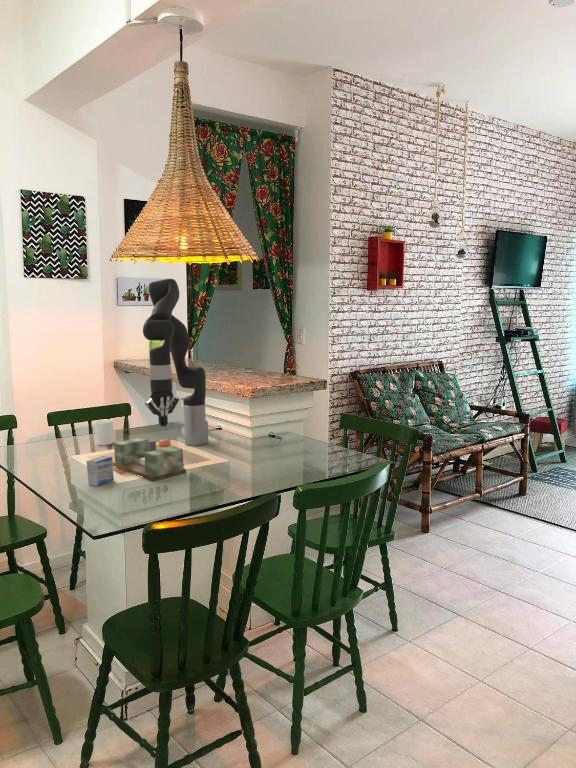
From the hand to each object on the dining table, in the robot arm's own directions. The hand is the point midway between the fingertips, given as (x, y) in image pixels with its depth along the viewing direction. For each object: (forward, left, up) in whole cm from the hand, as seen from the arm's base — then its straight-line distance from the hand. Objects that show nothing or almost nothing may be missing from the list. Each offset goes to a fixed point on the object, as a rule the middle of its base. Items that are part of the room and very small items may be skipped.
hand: (163, 426), depth 224 cm
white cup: (-9, -63, -18) cm, 66 cm away
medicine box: (+20, -10, -18) cm, 29 cm away
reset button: (0, 0, -7) cm, 7 cm away
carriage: (0, -8, -16) cm, 18 cm away
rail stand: (0, -12, -18) cm, 22 cm away
